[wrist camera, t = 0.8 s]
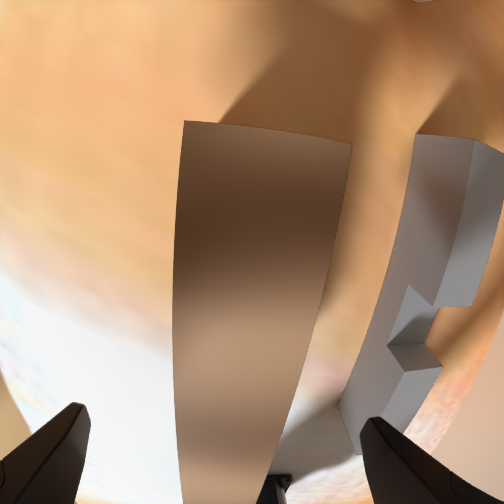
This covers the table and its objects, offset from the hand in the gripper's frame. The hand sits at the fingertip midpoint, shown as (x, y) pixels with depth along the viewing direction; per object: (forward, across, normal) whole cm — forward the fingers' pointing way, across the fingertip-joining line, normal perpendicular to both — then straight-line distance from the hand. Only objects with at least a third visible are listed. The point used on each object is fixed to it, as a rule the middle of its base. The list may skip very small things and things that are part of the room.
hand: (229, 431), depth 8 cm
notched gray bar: (+10, -11, 0) cm, 15 cm away
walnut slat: (+10, 0, 0) cm, 10 cm away
